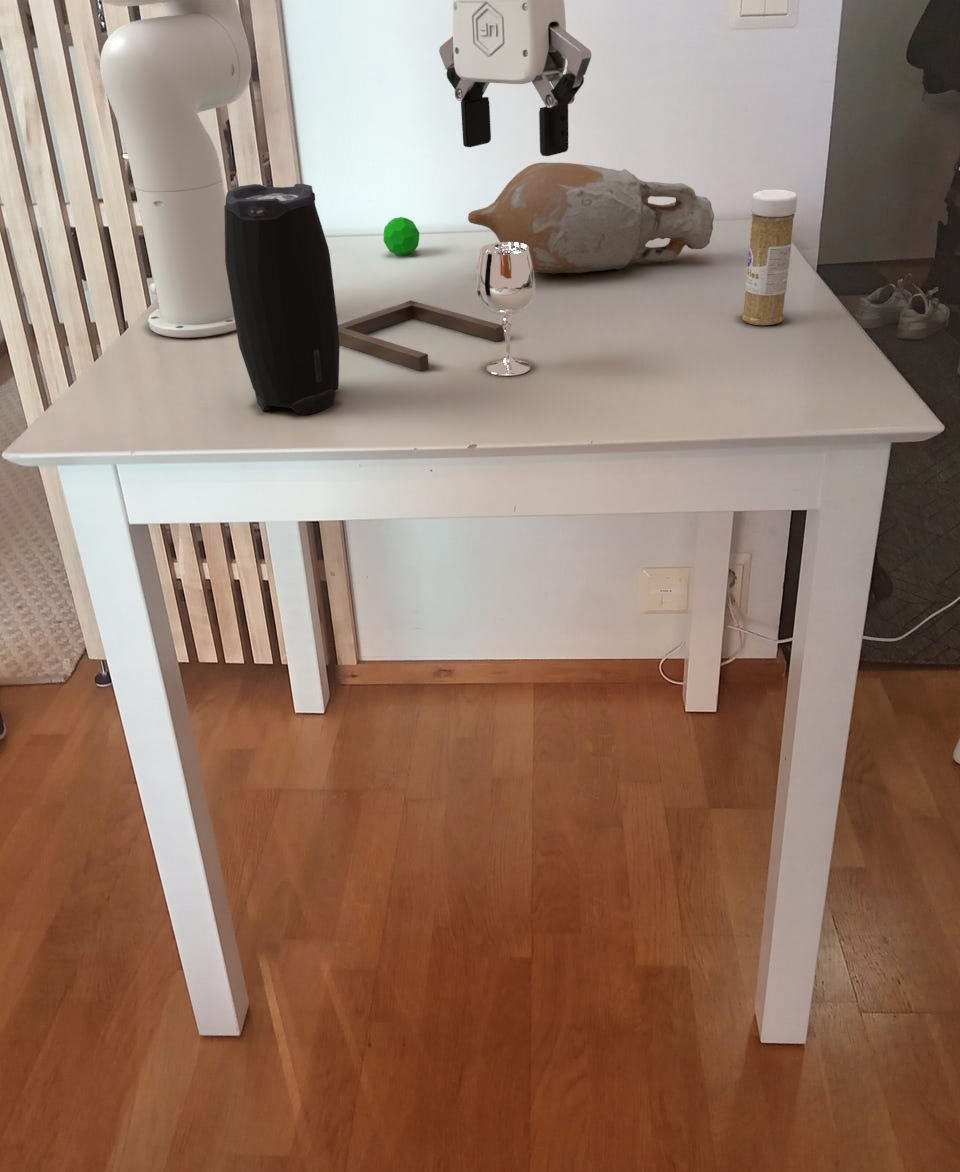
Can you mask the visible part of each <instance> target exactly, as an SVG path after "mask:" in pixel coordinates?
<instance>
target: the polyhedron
mask: <svg viewBox="0 0 960 1172" xmlns="http://www.w3.org/2000/svg"><path fill="white" fill-rule="evenodd" d="M419 242H420V231H419V229H418V227H417V226H416V224H415V222H414V221H413V220H411V219H409V218H408V217H403V216H398V217H394V218H393V219H391V220H390V221H389V222H388V223H387V224H386V225H385V226H384V229H383V243H384V244H385V247H386V248H387V250H388V251H389V252H390V253H392V254H394V255H396V256H400V257H403V256H408V255H410V254H412V253H413V252H414V251H415V250H416V249H417V248H418V247H419Z"/></svg>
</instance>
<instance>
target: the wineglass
mask: <svg viewBox="0 0 960 1172" xmlns="http://www.w3.org/2000/svg"><path fill="white" fill-rule="evenodd" d="M476 266H477V267H476V276H475V277H476V280H475V283H476V284H475V285H476V286H475V288H476V292H477V297H478V300H479V302H480V303H481V305H482V306H483V307H484V308H485V309H486V310H488V311H489V312H491V313H493V314H497V315H502V316H503V318H502V320H501V321H502V322H501V325H502V326H503V330H504V340H505V355H504V357H503V359H500V360H495V361H493V362H491V363H489V364H488V365H487V366H486V371H487V372H488V373H489V374H491V375H495V376H501V377H510V376H511V377H512V376H519V375H524V374H526V373H528V372H529V371H530V370H531V365H530V363H529V362H527V361H524V360H521V359H514V358H513V356H512V353H511V335H512V334H511V333H512V330H513V320H512V318H511V315H514V314H518V313H519V312H521V311H523V310H525V309H526V308H528V307H529V305H531V303H532V302H533V300H534V297H535V293H536V286H537V285H536V284H537V283H536V272H535V271H534V265H533V261H532V257H531V253H530V249H529V246H528V245H526V244H523V243H517V242H500V241H499V242H493V243H489V244H485V245H483V246H482V247H481V248H480V251H479V256H478V261H477V265H476Z"/></svg>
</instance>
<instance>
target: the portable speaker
mask: <svg viewBox="0 0 960 1172" xmlns="http://www.w3.org/2000/svg"><path fill="white" fill-rule="evenodd" d="M225 196H226V204H225V205H224V213H225V264H226V270H227V276H228V282H229V288H230V294H231V300H232V306H233V312H234V318H235V324H236V330H235V331H236V336H237V341H238V347H239V350H240V353H241V356H242V360H243V362H244V365H245V368H246V371H247V374H248V377H249V380H250V384H251V387H252V389H253V391H254V394H255V398H256V404H257V405H258V407H259V409H260V410H261V411H262V412H267V411H270V410H271V407H278V408H288V409H292V410H293V411H294V412H295V413H296V414H297V415H302V416H303V415H304V416H308V415H311V414H315V413H318V412H320V411H323V410H325V409H327V408H329V407H331V406H333V404H334V401H335V397H336V393H337V391H338V390H339V387H340V346H341V345H340V344H339V333H338V325H339V322H338V321H339V320H338V314H337V313H338V312H337V303H336V296H335V287H334V278H333V271H332V270H333V269H332V262H331V254H330V250H329V246H328V243H327V239H326V236H325V235H326V234H325V232H324V230H323V226H322V223H321V219H320V216H319V213H318V210H317V206H316V194H315V192H314V190H313V186H312V185H310V184H306V183H295V184H294V185H293V186H283V187H282V186H264V185H262V184H258V183H254V184H246V185H239V186H237V187H234V188H233V189H230V190H228V191H227V192H226V194H225Z"/></svg>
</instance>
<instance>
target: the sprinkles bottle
mask: <svg viewBox="0 0 960 1172" xmlns="http://www.w3.org/2000/svg"><path fill="white" fill-rule="evenodd" d="M750 204H751V206H750V212H751V217H752V218H751V228H750V240H749V247H748V253H747V267H746V275H745V285H744V290H745V291H744V302H743V311H742V313H741V319H742V320H743V321H744V322H745V323H748V324H750V325H754V326H770V325H771V326H772V325H776V324H779V323H782V322H783V320H784V317H785V315H784V306H785V300H786V299H785V298H786V297H785V296H786V292H787V287H788V280H789V279H788V278H789V269H790V260H791V252H792V251H791V250H792V236H793V226H794V218H795V213H796V212H797V207H798V206H797V205H798V194H797V193H796V192H794V191H792V190H786V189H763V190H759V191H756V192H753V194H752V197H751V203H750Z"/></svg>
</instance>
